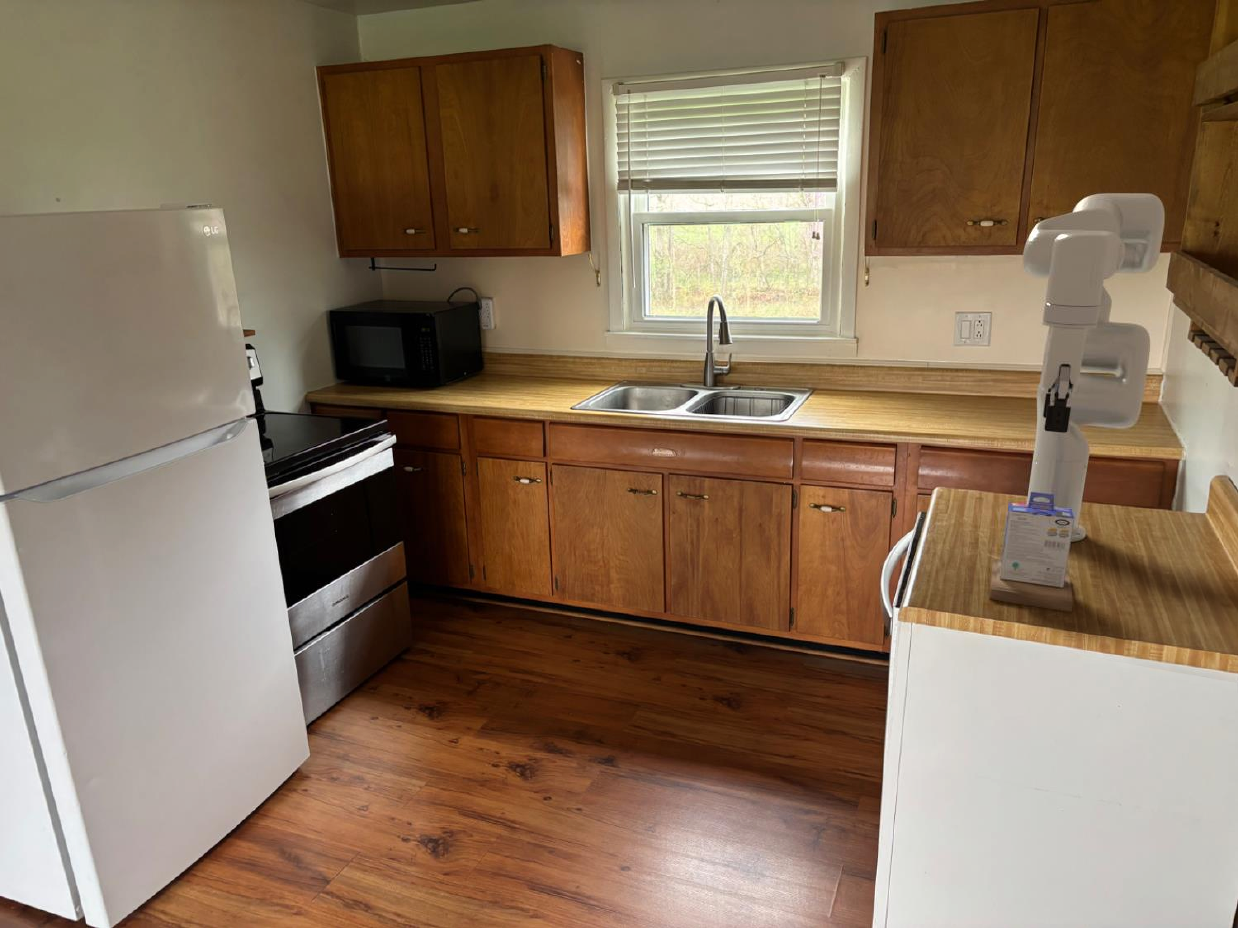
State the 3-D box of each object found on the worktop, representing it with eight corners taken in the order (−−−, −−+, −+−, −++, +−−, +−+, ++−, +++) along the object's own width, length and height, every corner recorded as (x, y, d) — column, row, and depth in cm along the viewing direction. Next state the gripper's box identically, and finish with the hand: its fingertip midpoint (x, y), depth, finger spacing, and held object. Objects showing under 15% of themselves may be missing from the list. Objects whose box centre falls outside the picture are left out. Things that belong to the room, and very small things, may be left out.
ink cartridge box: (1062, 576, 149) (1075, 494, 145) (1065, 589, 144) (1078, 504, 140) (999, 567, 153) (1009, 487, 149) (999, 579, 148) (1010, 497, 144)
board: (991, 568, 157) (993, 558, 157) (1067, 579, 153) (1068, 569, 152) (989, 598, 145) (991, 588, 144) (1071, 612, 140) (1073, 601, 140)
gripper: (1042, 309, 145) (1028, 411, 150) (1044, 321, 130) (1029, 434, 135) (1093, 311, 143) (1077, 415, 147) (1102, 324, 127) (1084, 439, 132)
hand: (1054, 424), depth 141 cm, fingers open, 9 cm apart
